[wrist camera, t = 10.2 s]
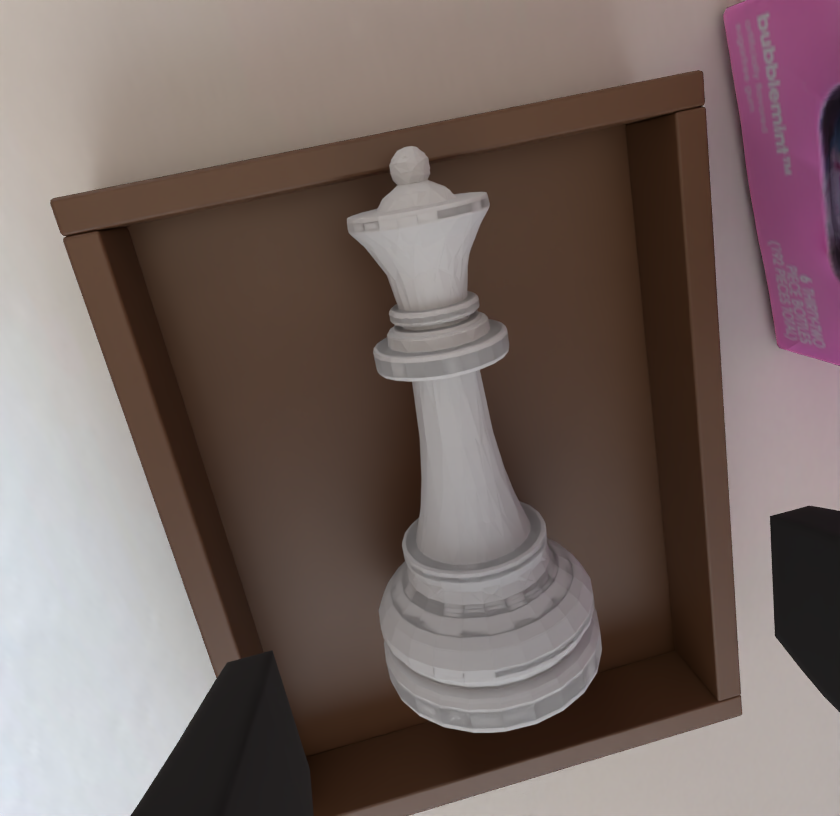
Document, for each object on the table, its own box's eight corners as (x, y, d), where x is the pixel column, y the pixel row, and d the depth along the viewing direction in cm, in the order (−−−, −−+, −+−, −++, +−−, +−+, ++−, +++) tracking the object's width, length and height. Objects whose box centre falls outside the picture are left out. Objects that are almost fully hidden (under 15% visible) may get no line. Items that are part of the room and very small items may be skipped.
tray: (687, 650, 19) (743, 715, 16) (281, 768, 18) (277, 855, 15) (637, 91, 14) (705, 68, 12) (92, 200, 13) (47, 199, 11)
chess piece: (393, 604, 16) (294, 169, 13) (576, 577, 16) (523, 126, 13) (384, 754, 12) (237, 175, 9) (630, 720, 12) (574, 111, 9)
